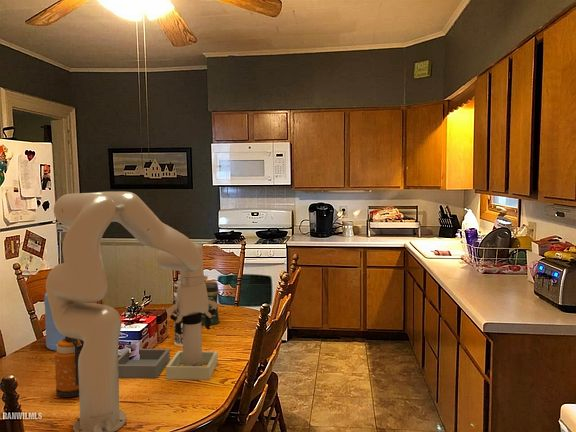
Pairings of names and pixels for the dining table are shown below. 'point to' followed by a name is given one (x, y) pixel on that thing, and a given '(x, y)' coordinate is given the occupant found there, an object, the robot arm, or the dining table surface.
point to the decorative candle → (179, 338)
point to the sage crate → (192, 367)
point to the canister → (67, 366)
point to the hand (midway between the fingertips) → (193, 330)
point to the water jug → (51, 328)
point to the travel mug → (192, 340)
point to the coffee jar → (212, 295)
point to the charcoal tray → (143, 363)
